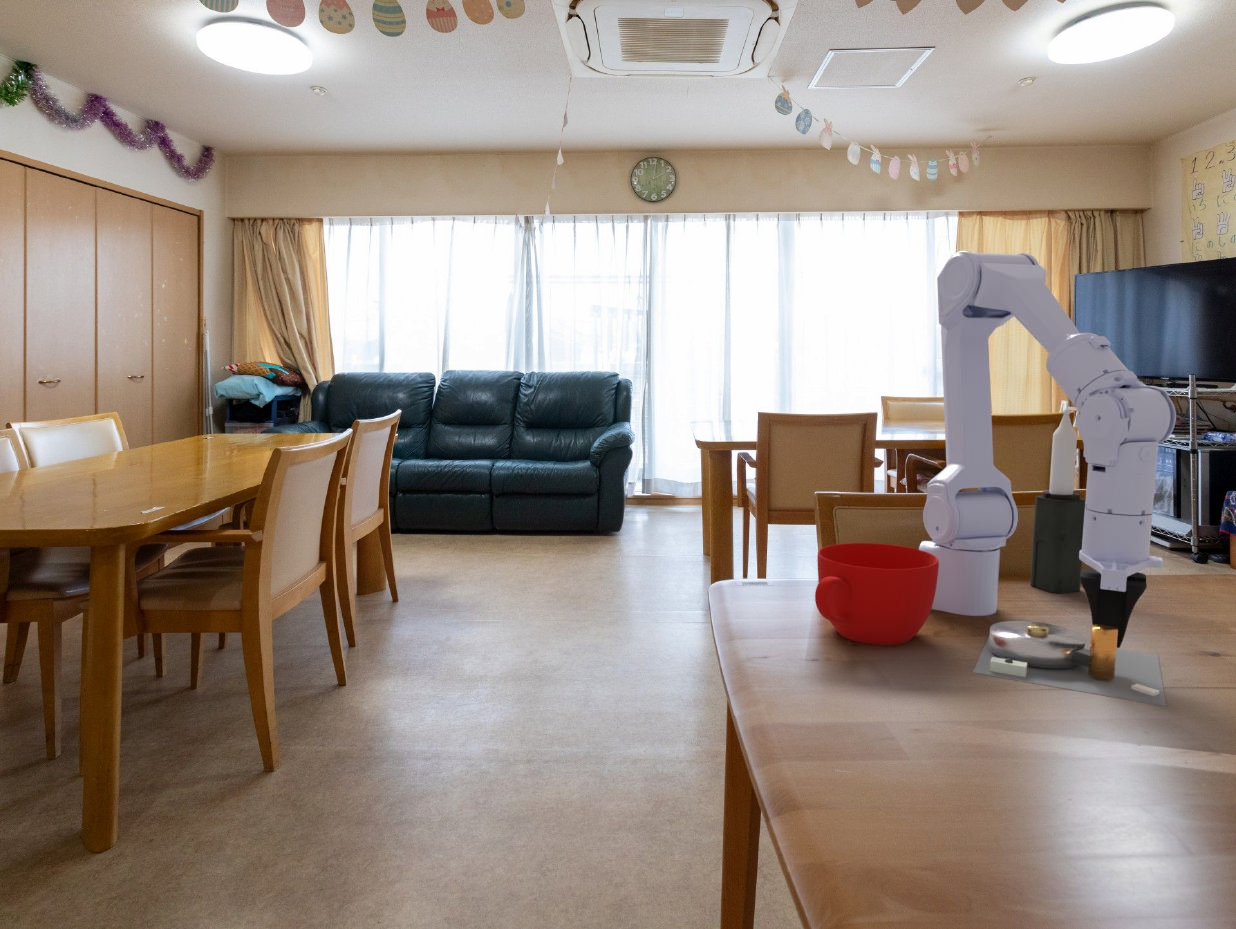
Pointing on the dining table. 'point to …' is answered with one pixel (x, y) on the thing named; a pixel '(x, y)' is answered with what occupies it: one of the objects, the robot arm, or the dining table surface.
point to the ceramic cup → (876, 590)
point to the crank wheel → (1056, 646)
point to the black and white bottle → (1059, 520)
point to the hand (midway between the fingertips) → (1107, 644)
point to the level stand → (1086, 676)
